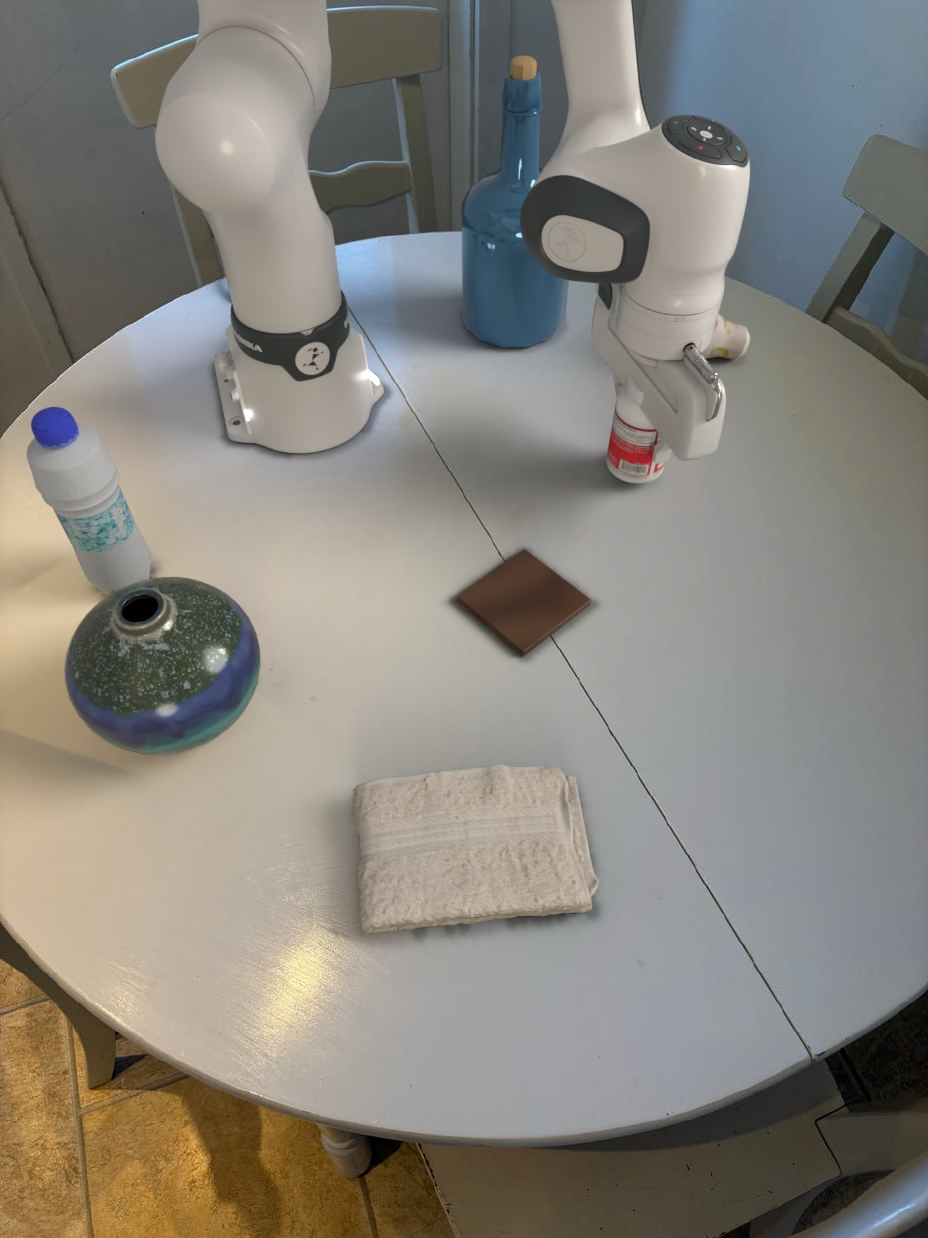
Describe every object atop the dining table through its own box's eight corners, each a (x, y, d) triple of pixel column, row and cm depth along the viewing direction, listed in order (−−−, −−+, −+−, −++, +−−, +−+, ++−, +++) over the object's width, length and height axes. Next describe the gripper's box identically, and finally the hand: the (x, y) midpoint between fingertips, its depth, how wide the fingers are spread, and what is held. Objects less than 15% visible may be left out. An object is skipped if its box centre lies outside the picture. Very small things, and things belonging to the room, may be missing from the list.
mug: (756, 373, 106) (736, 319, 99) (676, 394, 111) (651, 343, 103) (752, 325, 110) (733, 268, 102) (675, 346, 114) (650, 294, 106)
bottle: (172, 561, 88) (106, 397, 72) (135, 610, 84) (58, 449, 69) (113, 545, 90) (37, 380, 74) (75, 593, 86) (-15, 430, 70)
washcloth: (602, 914, 66) (607, 899, 64) (360, 943, 65) (356, 929, 62) (571, 772, 73) (574, 754, 71) (353, 796, 72) (349, 778, 70)
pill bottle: (645, 441, 97) (665, 355, 89) (673, 477, 94) (696, 391, 85) (595, 454, 96) (609, 368, 87) (621, 491, 92) (639, 406, 84)
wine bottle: (517, 366, 107) (530, 98, 84) (439, 322, 113) (430, 60, 90) (588, 318, 113) (618, 56, 90) (510, 279, 119) (520, 23, 96)
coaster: (456, 600, 85) (456, 595, 84) (523, 553, 88) (524, 548, 88) (523, 657, 81) (523, 652, 80) (590, 605, 84) (591, 599, 84)
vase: (57, 712, 77) (-8, 617, 67) (196, 606, 84) (157, 506, 74) (168, 817, 71) (116, 730, 61) (308, 693, 78) (283, 597, 68)
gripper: (757, 375, 75) (718, 494, 86) (646, 254, 87) (624, 371, 98) (692, 391, 74) (661, 509, 85) (588, 265, 86) (572, 383, 97)
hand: (640, 434), depth 92 cm, fingers closed on pill bottle, 6 cm apart
